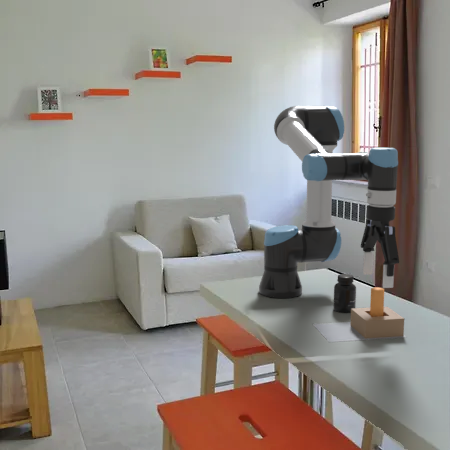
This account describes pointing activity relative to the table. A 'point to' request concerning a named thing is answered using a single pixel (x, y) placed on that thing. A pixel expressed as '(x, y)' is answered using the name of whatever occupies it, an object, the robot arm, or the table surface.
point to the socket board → (340, 331)
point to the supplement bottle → (344, 294)
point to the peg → (377, 302)
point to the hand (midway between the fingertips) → (377, 280)
